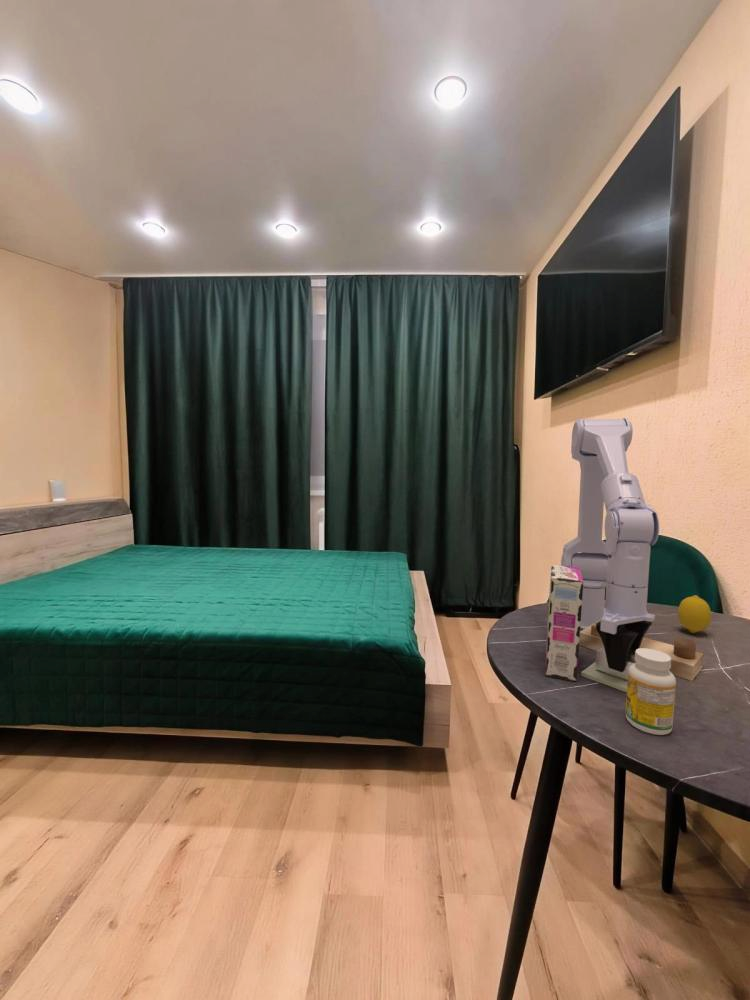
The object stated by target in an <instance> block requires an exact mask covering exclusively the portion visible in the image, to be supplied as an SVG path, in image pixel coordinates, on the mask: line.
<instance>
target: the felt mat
mask: <svg viewBox="0 0 750 1000" xmlns="http://www.w3.org/2000/svg"><path fill="white" fill-rule="evenodd" d="M595 664H596V661H594V662H593V663H592V664H591V665H589V666H588V667H586V668H585V669H584V670H582V671H581V672H580V676H581V677H583V678H586V679H589V680H591V681H594V682H597V683H600V684H603V685H606V686H608V687H610V688H614V689H616V690H618V691H622V692H625V693H627V682H628V680H625V679H622V678H620V677H617V676H614V675H611V674H608V673H605V672H603V671H600V670H597V669H595Z"/></svg>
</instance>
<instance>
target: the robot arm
mask: <svg viewBox="0 0 750 1000" xmlns="http://www.w3.org/2000/svg"><path fill="white" fill-rule="evenodd" d="M632 424H633V423H632V422H631V421H630V419H629V418H627V417H624V418H603V419H602V418H598V419H597V418H595V419H591V418H590V419H589V418H587V419H586V418H584V419H583V418H577V420H576V421H575V422H574V423H573V427H572V430H571V431H572V433H571V447H570V448H571V449H570V453H571V459H573V460H574V461H578V462H579V467H580V480H579V497H578V498H579V499H578V500H579V503H578V521H577V522H578V523H577V536H576V537H575V538H574V539H572V540H570V541H568V542H567V543H565V544H564V546H563V548H562V555H561V559H560V566H570V567H578V568H580V572H581V576H582V579H583V582H584V583H583V596H582V611H581V626H580V629H581V630H584V629H585V628H587V627H589V626H591V625H592V624H595V623H596V630H597V632H598V633H599V635H600V637H601V639H602V642H603V645H604V649H605V653H606V658H607V663H608V667H609V668H610V669H613V670H616V671H619V672H623V671H624V669H625V667H626V663H627V659H628V655H629V651H630V648H631V647H632V648H636V649H639V648H640V645H641V642H642V639H643V637H645V635H646V633H647V631H648V630H649V629H650V628H651V626H652V625H653V621H655V619H656V617H655V616H656V615H655V614H652V613H648V609H647V608H648V607H647V606H648V605H647V603H648V589H649V576H650V562H651V561H650V559H651V546H654V545H655V544H656V543H657V541H658V539H659V536H660V535H659V534H660V520H659V516H658V513H657V511H656V510H655V508H653V507H652V506H651V504H650V503H646V501H645V498H644V494H643V491H642V489H641V485H640V481H639V479H638V477H637V476H636V475H635V474H633V473H630V472H629V466H628V461H627V454H626V453H627V451H628V449H629V447H630V445H631V444H632V439H633V432H634V431H633V425H632ZM604 508H605V512H606V514H605V519H604ZM603 523H604V524H603ZM603 525H604V535H605V536H604V537H605V541H604V540H603ZM600 620H601V621H600ZM598 621H600V622H598ZM597 622H598V623H597Z"/></svg>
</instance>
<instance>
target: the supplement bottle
mask: <svg viewBox="0 0 750 1000" xmlns="http://www.w3.org/2000/svg"><path fill="white" fill-rule="evenodd" d="M635 661H636V663H634V664H632V665H631V666H630V667H629V669H628V682H627V692H626V696H625V697H626V699H625V701H626V702H625V718H626V720H627V721H628V723H630V724H631V726H633V727H635V728H636V729H638V730H639V731H641V732H644V733H647V734H650V735H655V736H656V735H657V736H665V735H668V734H670V733H671V732H672V731H673V727H674V726H673V725H674V713H675V700H676V699H675V698H676V687H677V680H676V676H675V675H673V674H672V673H671V672H670V671H669V670H670V668H671V657H670V656H668V655H667V654H665V653H663V652H660V651H657V650H653V649H647V648H639V649H637V650H636V651H635Z"/></svg>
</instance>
